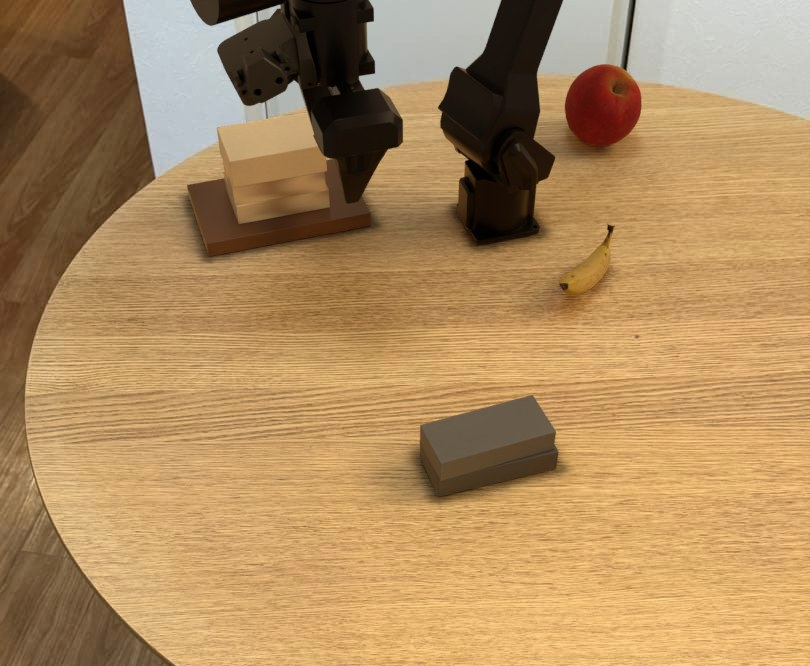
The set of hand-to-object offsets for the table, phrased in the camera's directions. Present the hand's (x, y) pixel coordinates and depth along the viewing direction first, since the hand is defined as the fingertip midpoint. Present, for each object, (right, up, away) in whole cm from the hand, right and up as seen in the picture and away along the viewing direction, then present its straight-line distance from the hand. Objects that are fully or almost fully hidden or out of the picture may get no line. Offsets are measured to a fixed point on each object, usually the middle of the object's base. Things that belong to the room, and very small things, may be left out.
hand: (337, 171), depth 97 cm
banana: (+22, -8, +9) cm, 25 cm away
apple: (+26, +11, +25) cm, 37 cm away
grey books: (+12, -25, -5) cm, 28 cm away
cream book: (-7, +5, +12) cm, 15 cm away
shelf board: (-7, +1, +17) cm, 18 cm away
